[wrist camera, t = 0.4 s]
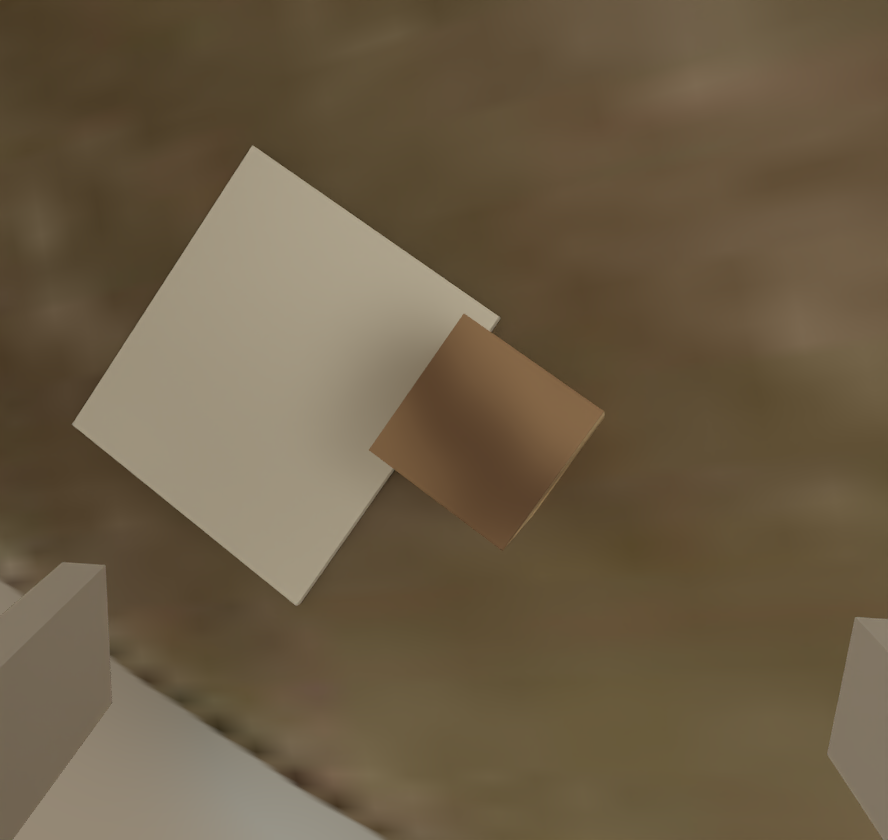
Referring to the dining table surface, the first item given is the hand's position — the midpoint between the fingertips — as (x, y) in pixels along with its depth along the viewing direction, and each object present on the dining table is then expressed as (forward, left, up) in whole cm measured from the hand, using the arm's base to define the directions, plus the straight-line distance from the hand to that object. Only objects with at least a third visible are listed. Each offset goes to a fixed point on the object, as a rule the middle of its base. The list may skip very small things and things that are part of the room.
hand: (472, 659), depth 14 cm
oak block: (-2, -4, -26) cm, 27 cm away
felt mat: (+3, -16, -26) cm, 31 cm away
